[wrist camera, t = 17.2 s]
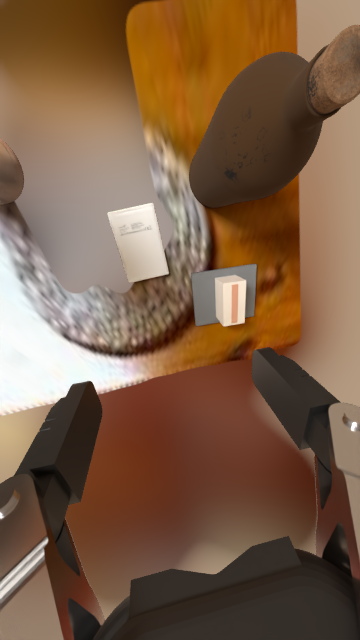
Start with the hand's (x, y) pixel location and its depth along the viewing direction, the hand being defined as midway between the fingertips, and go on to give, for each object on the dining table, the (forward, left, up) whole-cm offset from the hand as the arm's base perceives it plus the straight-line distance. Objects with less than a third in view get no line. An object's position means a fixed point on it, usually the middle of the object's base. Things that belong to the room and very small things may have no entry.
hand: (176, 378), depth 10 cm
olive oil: (+13, +14, -32) cm, 38 cm away
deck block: (+14, -8, -31) cm, 35 cm away
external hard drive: (-2, +5, -33) cm, 33 cm away
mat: (+14, -8, -32) cm, 36 cm away
